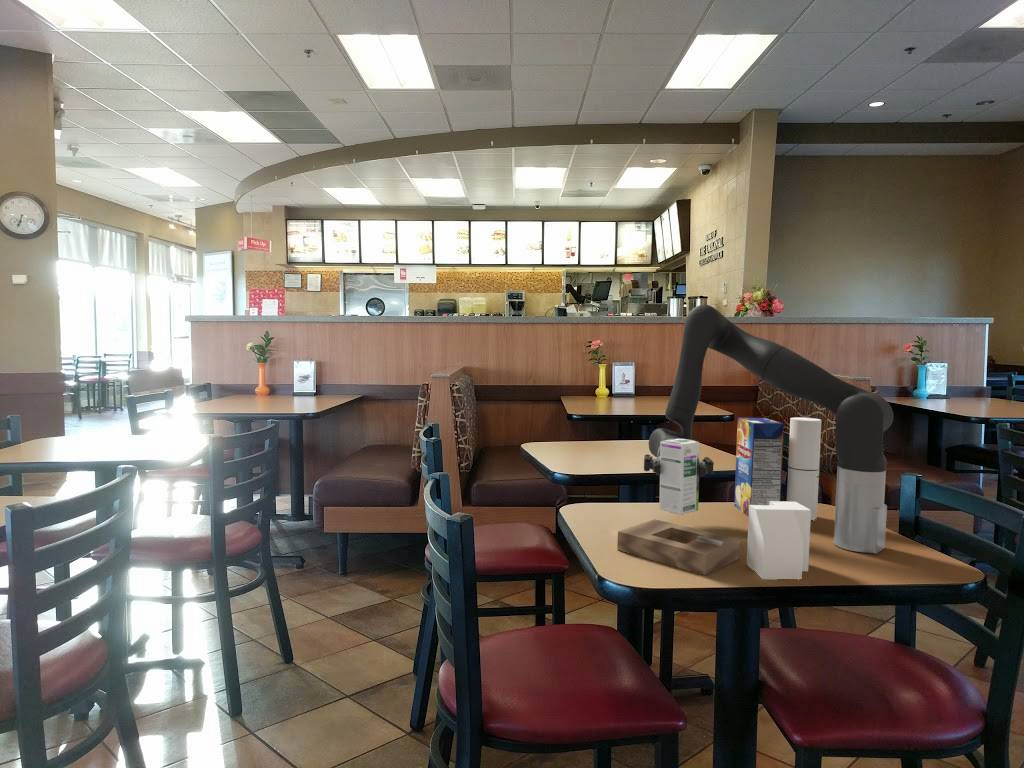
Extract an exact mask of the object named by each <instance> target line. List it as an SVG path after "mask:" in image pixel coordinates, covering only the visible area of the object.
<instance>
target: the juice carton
mask: <svg viewBox="0 0 1024 768" xmlns="http://www.w3.org/2000/svg"><path fill="white" fill-rule="evenodd" d="M784 425H785V423H784V422H783V423H782V422H780V421H777V420H773V419H770V418H766V417H737V427H736V431H737V432H736V456H735V477H734V478H735V480H734V481H735V482H734V501H733V502H734V503H739V504H734V503H733V505H734V507H735V508H736V509H737V510H739V511H740V512H741V513H743V514H744V515H745V516H747V517H748V518H749V505H769V501H781V497H782V496H781V495H782V493H781V492H782V472H783V471H782V469H783V451H784V450H783V449H784V448H783V447H784V427H785V426H784Z"/></svg>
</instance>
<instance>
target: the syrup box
mask: <svg viewBox="0 0 1024 768" xmlns="http://www.w3.org/2000/svg"><path fill="white" fill-rule="evenodd" d="M700 445H701V443H700V442H699V441H697V440H694V439H692V440H689V439H674V440H667V441H661V442H660V464H661V468H660V475H659V510H661V511H663V512H668V513H672V514H675V515H679V516H683V515H684V514H686V515H687V514H690V513H693V512H697V511H699V496H700V495H699V493H700V492H699V488H700V485H699V484H700V477H699V461H700Z"/></svg>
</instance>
